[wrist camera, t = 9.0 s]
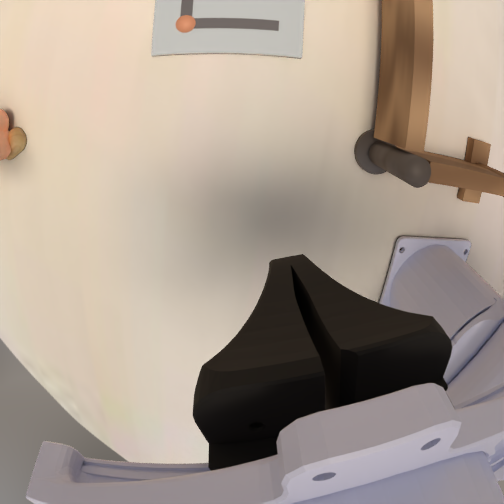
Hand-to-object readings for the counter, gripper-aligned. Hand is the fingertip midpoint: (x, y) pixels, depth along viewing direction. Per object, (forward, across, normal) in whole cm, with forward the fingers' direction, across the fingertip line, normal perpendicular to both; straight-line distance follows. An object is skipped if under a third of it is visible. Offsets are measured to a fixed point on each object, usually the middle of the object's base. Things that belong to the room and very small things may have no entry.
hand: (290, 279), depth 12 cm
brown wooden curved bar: (+9, -9, -8) cm, 15 cm away
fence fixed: (+9, -12, -1) cm, 15 cm away
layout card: (+9, 0, -14) cm, 17 cm away
